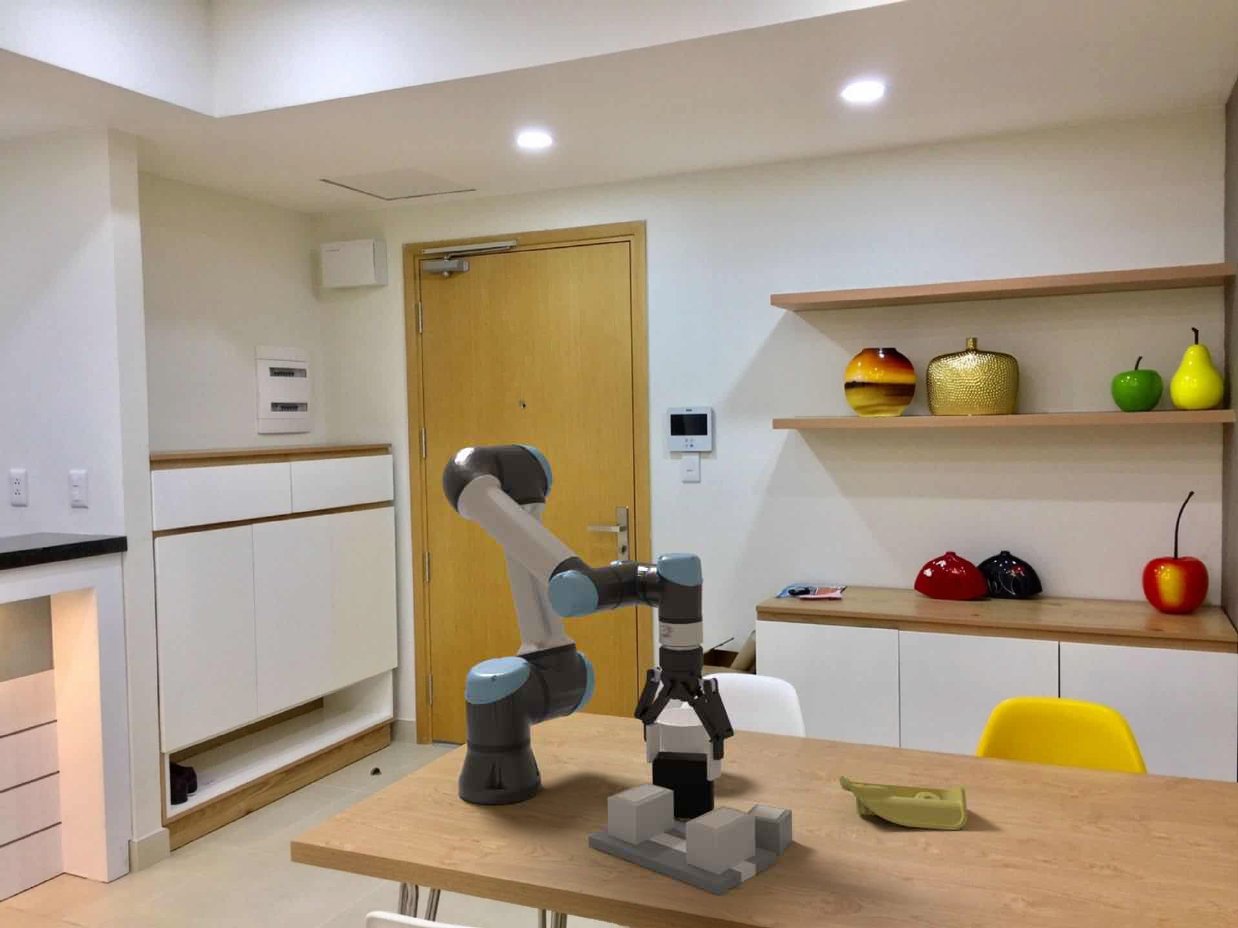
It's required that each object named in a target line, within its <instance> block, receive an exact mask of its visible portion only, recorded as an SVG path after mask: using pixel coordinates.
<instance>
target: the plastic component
mask: <svg viewBox="0 0 1238 928" xmlns="http://www.w3.org/2000/svg"><path fill="white" fill-rule="evenodd" d="M838 781H839V783H840V786H841V787H842V789H843V790H844V791H845V792H846V791H847V792H850V793H852V794H853V795H854V796H855V800H856V814H857V815H863V816H876V815H877V816H879V817H880V818H882V819H883V820H886V821H889V822H890V823H893V824H897V825H900V826H904V827H910V828H921V829H932V830H945V831H946V830H947V831H956V830H960V829H961V828H963V827H964V826H965V825H966V823H967V821H968V809H967V808H968V807H967V797H966V789H965V786H964V785H963V784H958V785H956V786H953V787H952V788H942V789H941V788H931V787H930V788H929V787H928V788H927V787H919V786H918V787H916V786H908V785H907V786H905V785H904V786H903V785H893V784H879V783H870V782H857V781H851V779H850V778H849V777H848V776H847V775H842V776H839V778H838Z"/></svg>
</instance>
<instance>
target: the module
mask: <svg viewBox="0 0 1238 928" xmlns="http://www.w3.org/2000/svg"><path fill="white" fill-rule="evenodd" d="M746 813H749V814H752V815H755V846H756V847H759V848H762V849H765V850H768V851H771V852H774V853H776V855H779V856H780V855H782V853H783V852H784V850H785V849H786V848H788V846H789V845H790V844H791V843H792V841H793V812H792V809H787V808H781V807H775V806H770V805H769V806H768V805H763V804H754V805H753V807H751V809H749V810H748V811H746Z"/></svg>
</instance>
